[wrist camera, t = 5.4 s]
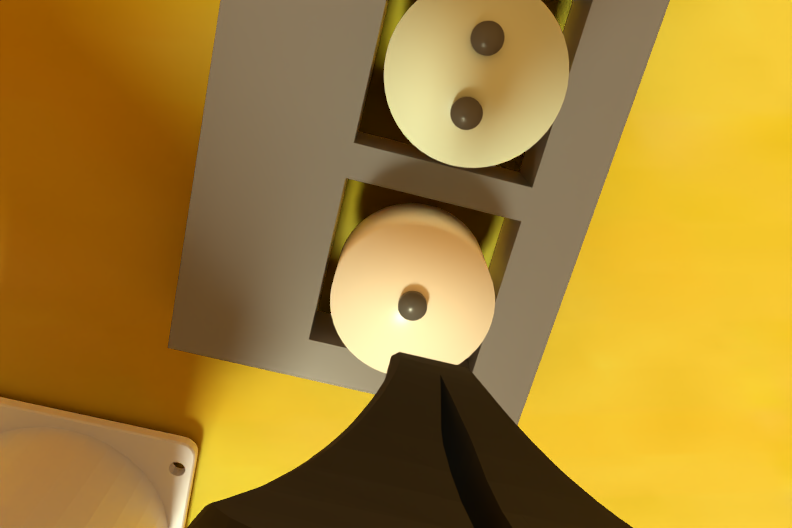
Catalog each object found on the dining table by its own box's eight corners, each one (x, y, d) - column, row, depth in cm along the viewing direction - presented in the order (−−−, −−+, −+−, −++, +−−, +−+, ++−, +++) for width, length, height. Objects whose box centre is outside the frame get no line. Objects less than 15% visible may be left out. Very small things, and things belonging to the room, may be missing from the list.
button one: (462, 354, 19) (469, 396, 17) (324, 322, 19) (313, 361, 16) (503, 223, 18) (517, 249, 16) (356, 186, 17) (349, 208, 15)
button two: (520, 168, 17) (537, 188, 15) (369, 130, 17) (364, 144, 15) (570, 7, 16) (598, 3, 14) (408, -38, 16) (409, -49, 13)
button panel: (506, 390, 21) (517, 426, 19) (189, 318, 20) (167, 347, 18) (741, -288, 15) (789, -335, 13) (309, -422, 14) (295, -492, 13)
